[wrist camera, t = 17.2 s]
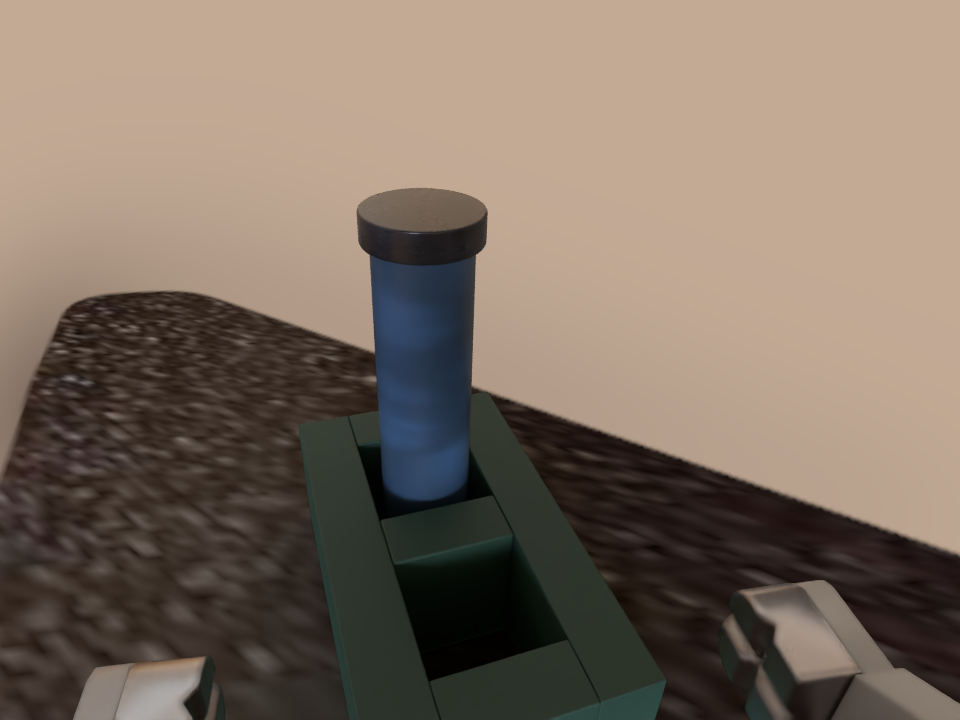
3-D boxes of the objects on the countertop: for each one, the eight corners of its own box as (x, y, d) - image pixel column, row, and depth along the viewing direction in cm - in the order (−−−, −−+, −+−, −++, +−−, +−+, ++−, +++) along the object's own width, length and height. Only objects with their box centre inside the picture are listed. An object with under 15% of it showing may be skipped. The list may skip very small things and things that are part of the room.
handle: (391, 610, 25) (371, 238, 17) (371, 538, 28) (346, 192, 20) (485, 585, 27) (507, 224, 19) (456, 518, 30) (463, 183, 22)
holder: (378, 875, 18) (369, 782, 16) (310, 514, 29) (297, 423, 27) (638, 776, 21) (667, 680, 18) (483, 477, 32) (487, 390, 29)
